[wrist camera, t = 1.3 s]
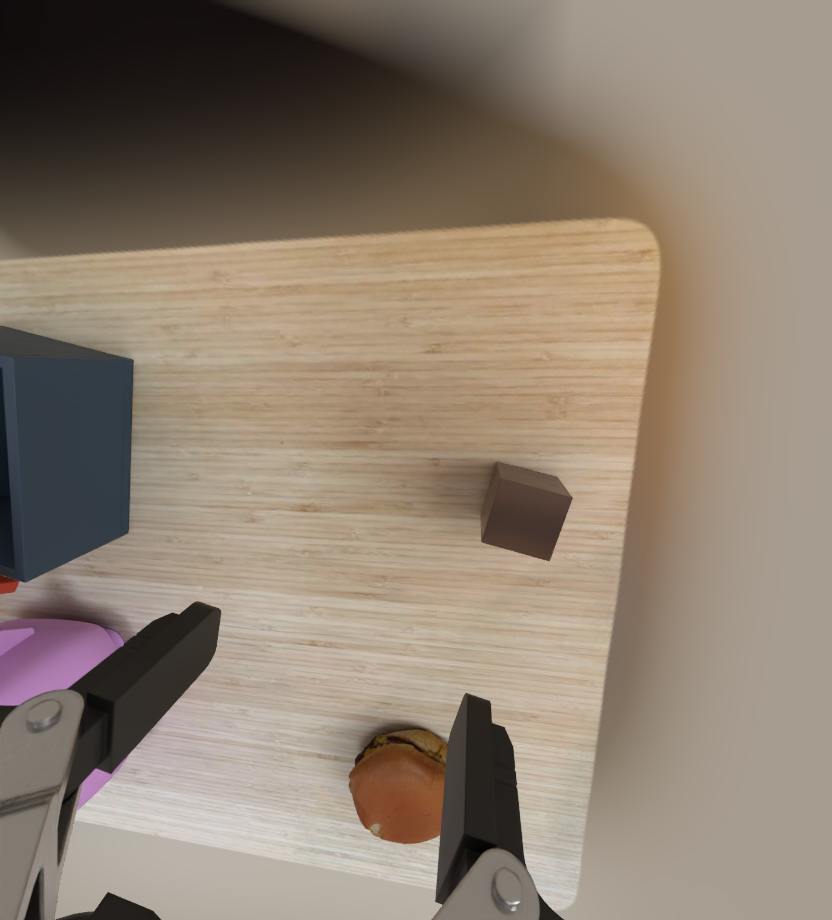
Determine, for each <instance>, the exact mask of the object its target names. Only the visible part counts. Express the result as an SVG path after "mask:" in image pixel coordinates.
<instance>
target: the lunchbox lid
mask: <svg viewBox="0 0 832 920" xmlns="http://www.w3.org/2000/svg"><path fill="white" fill-rule="evenodd" d="M18 583H19V581H17V580H14V579H11V578H8V577H5V576H2V575H0V594H5V593H12V592H15V590H16V588H17V585H18Z"/></svg>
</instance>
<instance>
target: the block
mask: <svg viewBox="0 0 832 920" xmlns="http://www.w3.org/2000/svg"><path fill="white" fill-rule="evenodd" d="M571 501H572V496H571V495H570V494H569V492H568V491H567V490H566V488H565V487H564V485H563V484H562V483H561V481H560V480H559V479H558V477H554V476H551V475H547V474H543V473H539V472H535V471H531V470H527V469H524V468H520V467H516V466H512V465H508V464H504V463H501V462H497V463H496V466H495V470H494V473H493V476H492V480H491V483H490V486H489V490H488V493H487V496H486V500H485V503H484V506H483V510H482V513H481V542H482V543H486V544H490V545H493V546H497V547H500V548H504V549H507V550H511V551H515V552H518V553H522V554H525V555H529V556H532V557H536V558H540V559H543V560H547V561H550V559H551V556H552V553H553V550H554V548H555V545H556V542H557V540H558V537H559V534H560V531H561V529H562V526H563V523H564V520H565V518H566V515H567V512H568V509H569V507H570V504H571Z"/></svg>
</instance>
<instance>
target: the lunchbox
mask: <svg viewBox="0 0 832 920" xmlns="http://www.w3.org/2000/svg"><path fill="white" fill-rule="evenodd" d="M132 382H133V360H132V359H128V358H124V357H120V356H116V355H112V354H108V353H105V352H101V351H97V350H93V349H89V348H85V347H81V346H78V345H74V344H70V343H66V342H62V341H58V340H54V339H50V338H47V337H43V336H39V335H35V334H31V333H27V332H23V331H20V330H16V329H12V328H8V327H4V326H0V575H3V576H6V577H9V578H12V579H16V580H18V581H22V582H28V581H30V580H32V579H34V578H36V577H38V576H40V575H42V574H44V573H46V572H49V571H51V570H53V569H55V568H57V567H59V566H61V565H63V564H65V563H67V562H69V561H71V560H73V559H76V558H78V557H80V556H82V555H84V554H86V553H88V552H90V551H92V550H94V549H96V548H98V547H100V546H103V545H105V544H107V543H109V542H111V541H113V540H115V539H117V538H119V537H121V536H123V535H125V534H127V533H128V525H129V489H130V453H131V417H132Z"/></svg>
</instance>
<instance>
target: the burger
mask: <svg viewBox="0 0 832 920" xmlns="http://www.w3.org/2000/svg"><path fill="white" fill-rule="evenodd" d="M447 747H448V745H446V744H445V742H443V741H442V740H441V739H440V738H438V736H435V735H434V734H433V733H431V732H429V731H424V730H415V729H413V730H406V731H397V732H394V733H389V734H386V735H381V736H379V737H375V738H374V739H373V740H372V741H371V742H370V743H369V745H368V746H367V747H365V748H364V750H363V751H362V752H361V753H360V754H359V755H358V756H357V757H356V759H355V767H354V768H353V770H352V771H351V772H350V775H349V778H350V783H349V788H350V791H351V793H352V796H353V800H354V804H355V807H356V811H357V814H358V816H359V818H360V821H361V823H362V824H363V825H364V827H365V828H366V829H368V830H370V831H371V833H372V834H373V835H375V836H377V837H380V838H381V839H383V840H387V841H392V842H397V843H403V844H412V843H420V842H424V841H428V840H430V839H433V838H436V837H437V836H439V835H440V833H441V820H442V807H443V794H444V780H445V767H446V754H447Z"/></svg>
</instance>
